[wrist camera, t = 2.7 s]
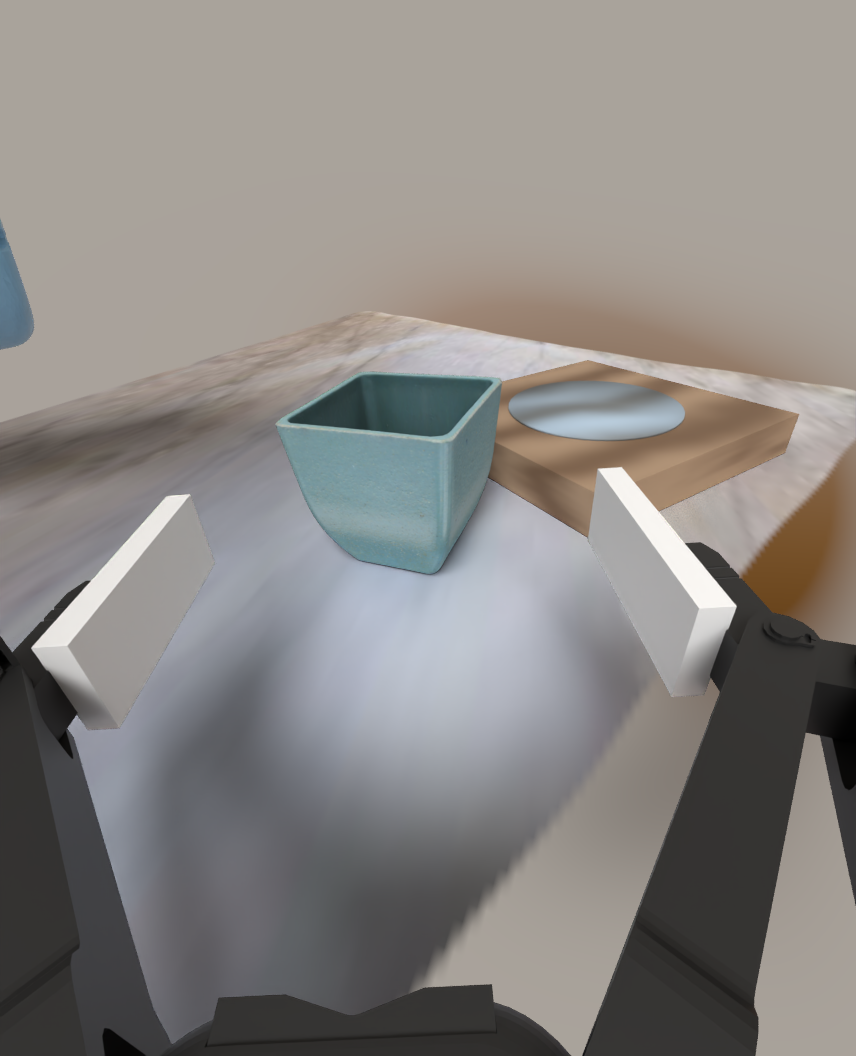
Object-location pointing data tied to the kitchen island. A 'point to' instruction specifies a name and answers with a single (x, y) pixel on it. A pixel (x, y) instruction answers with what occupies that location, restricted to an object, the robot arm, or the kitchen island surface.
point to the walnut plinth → (624, 437)
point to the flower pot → (395, 462)
